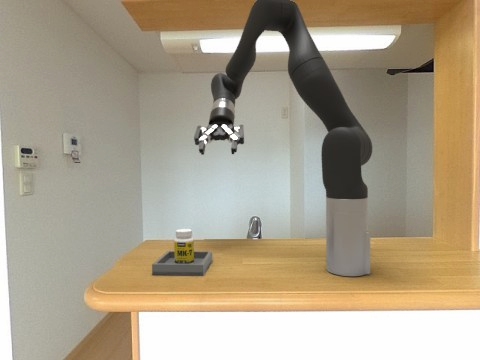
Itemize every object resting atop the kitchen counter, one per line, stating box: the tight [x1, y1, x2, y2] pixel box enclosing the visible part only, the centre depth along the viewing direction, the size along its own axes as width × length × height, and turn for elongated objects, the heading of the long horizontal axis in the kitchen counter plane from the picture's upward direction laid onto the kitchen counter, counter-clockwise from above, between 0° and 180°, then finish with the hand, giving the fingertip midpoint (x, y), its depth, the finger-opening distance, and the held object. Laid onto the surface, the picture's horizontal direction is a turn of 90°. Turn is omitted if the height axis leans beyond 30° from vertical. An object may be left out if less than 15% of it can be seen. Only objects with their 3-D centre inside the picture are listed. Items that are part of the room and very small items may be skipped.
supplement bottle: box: [173, 228, 195, 264], centre depth 83 cm, size 5×5×8 cm
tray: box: [151, 250, 213, 277], centre depth 83 cm, size 12×12×2 cm
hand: (217, 152), depth 93 cm, fingers open, 8 cm apart
